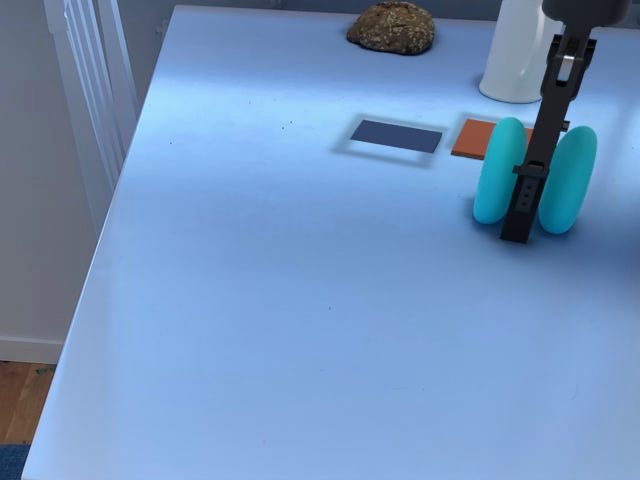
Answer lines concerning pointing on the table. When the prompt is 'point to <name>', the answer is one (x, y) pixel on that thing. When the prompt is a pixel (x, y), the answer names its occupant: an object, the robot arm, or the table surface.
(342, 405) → the table surface
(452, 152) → the terracotta mat
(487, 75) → the mug
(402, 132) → the blue mat
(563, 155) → the cyan capsule pair
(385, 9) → the bread roll
